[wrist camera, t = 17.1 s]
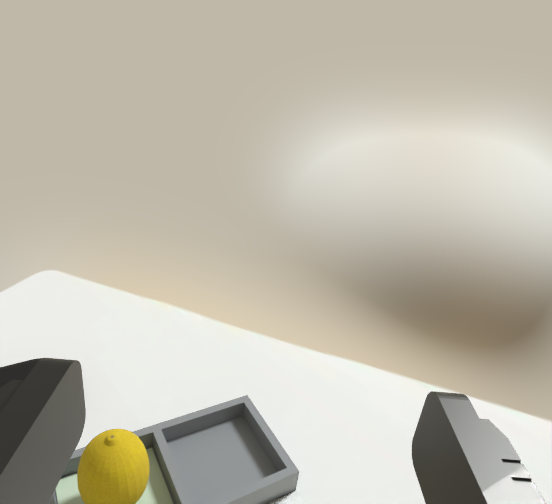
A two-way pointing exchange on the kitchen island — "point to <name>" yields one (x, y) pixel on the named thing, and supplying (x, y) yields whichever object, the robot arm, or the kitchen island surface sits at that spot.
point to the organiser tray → (205, 460)
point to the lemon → (113, 469)
